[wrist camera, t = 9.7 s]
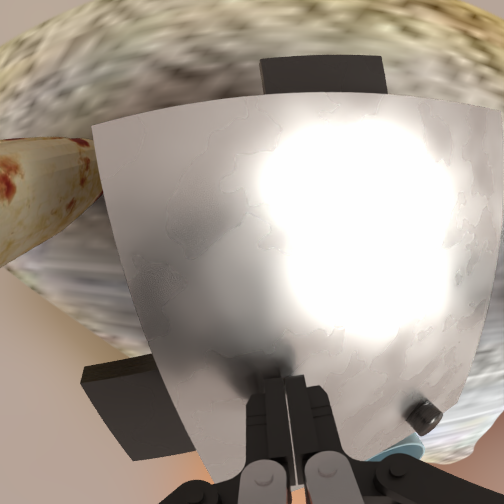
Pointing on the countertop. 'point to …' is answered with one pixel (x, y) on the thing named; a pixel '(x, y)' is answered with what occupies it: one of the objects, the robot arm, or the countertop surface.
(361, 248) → the lid
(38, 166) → the food model
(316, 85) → the cooker pot
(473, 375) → the countertop surface
